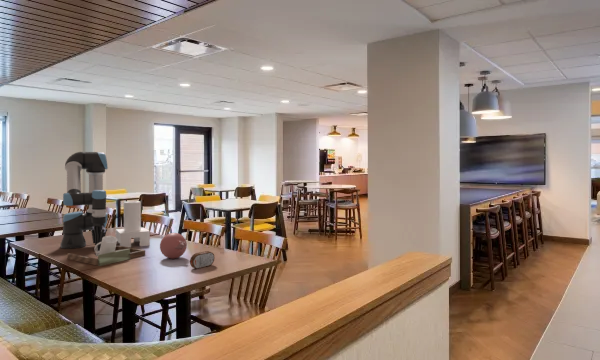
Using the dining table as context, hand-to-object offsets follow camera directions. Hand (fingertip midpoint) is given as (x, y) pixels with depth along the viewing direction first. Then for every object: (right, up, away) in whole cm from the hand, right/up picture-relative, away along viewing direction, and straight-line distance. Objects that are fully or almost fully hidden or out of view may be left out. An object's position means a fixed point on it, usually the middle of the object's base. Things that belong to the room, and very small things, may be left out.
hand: (98, 255), depth 234 cm
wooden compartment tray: (+3, -2, +6) cm, 7 cm away
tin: (+66, -4, -16) cm, 68 cm away
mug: (+3, -1, -2) cm, 4 cm away
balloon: (+45, -3, +2) cm, 45 cm away
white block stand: (+2, -1, +43) cm, 44 cm away
